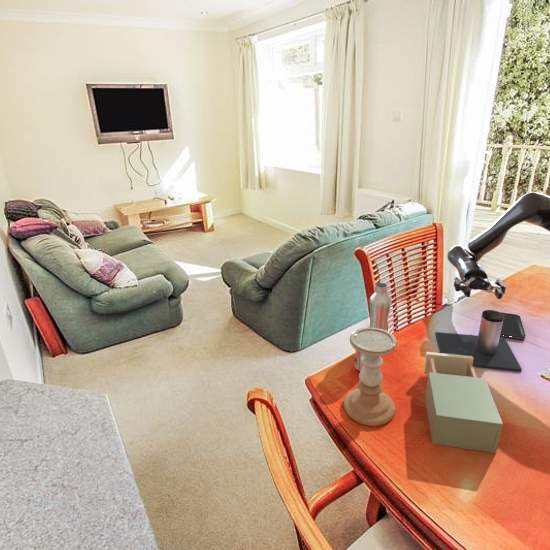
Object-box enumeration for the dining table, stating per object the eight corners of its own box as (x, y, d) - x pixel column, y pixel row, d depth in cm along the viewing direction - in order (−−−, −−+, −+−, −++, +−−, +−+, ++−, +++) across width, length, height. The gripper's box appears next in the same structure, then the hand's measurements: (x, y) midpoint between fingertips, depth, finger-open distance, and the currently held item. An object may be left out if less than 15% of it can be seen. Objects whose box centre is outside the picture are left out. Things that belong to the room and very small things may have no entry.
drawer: (423, 368, 104) (425, 349, 102) (467, 372, 102) (471, 353, 99) (429, 404, 91) (432, 384, 89) (480, 411, 88) (485, 390, 86)
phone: (519, 314, 127) (526, 337, 115) (519, 317, 128) (525, 340, 115) (493, 311, 130) (496, 332, 118) (492, 314, 131) (496, 335, 118)
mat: (504, 339, 116) (504, 337, 116) (521, 371, 102) (522, 369, 102) (435, 334, 121) (435, 331, 121) (442, 363, 107) (442, 361, 107)
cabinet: (425, 398, 95) (428, 372, 92) (479, 405, 92) (485, 378, 88) (432, 443, 82) (436, 415, 79) (496, 453, 79) (503, 424, 76)
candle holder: (405, 412, 91) (413, 342, 83) (368, 435, 85) (373, 361, 77) (369, 384, 100) (373, 319, 92) (333, 403, 95) (334, 335, 87)
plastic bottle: (378, 350, 114) (383, 291, 107) (362, 340, 120) (365, 284, 112) (393, 343, 118) (398, 285, 110) (376, 334, 123) (380, 278, 115)
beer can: (356, 361, 110) (357, 326, 105) (372, 364, 108) (375, 328, 104) (353, 371, 106) (354, 335, 101) (370, 374, 104) (372, 337, 100)
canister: (493, 345, 112) (501, 310, 108) (498, 356, 108) (506, 320, 103) (473, 343, 114) (480, 309, 109) (477, 354, 109) (484, 318, 104)
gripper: (451, 263, 128) (460, 283, 114) (497, 265, 125) (513, 285, 111) (448, 283, 131) (457, 304, 117) (493, 285, 128) (508, 308, 114)
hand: (484, 295), depth 114 cm, fingers open, 8 cm apart
